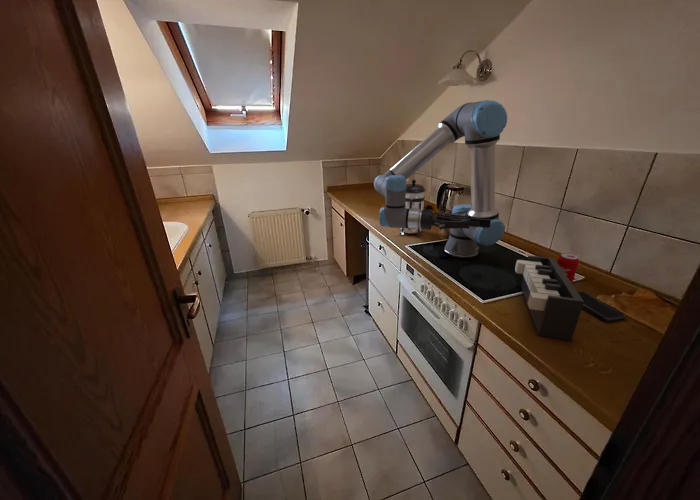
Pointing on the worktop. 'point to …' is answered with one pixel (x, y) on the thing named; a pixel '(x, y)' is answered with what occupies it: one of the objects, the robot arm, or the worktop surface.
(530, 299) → the key near
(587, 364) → the worktop surface
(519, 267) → the key far
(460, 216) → the robot arm
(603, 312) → the phone
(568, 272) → the beverage can
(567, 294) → the piano
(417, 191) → the coffee press
